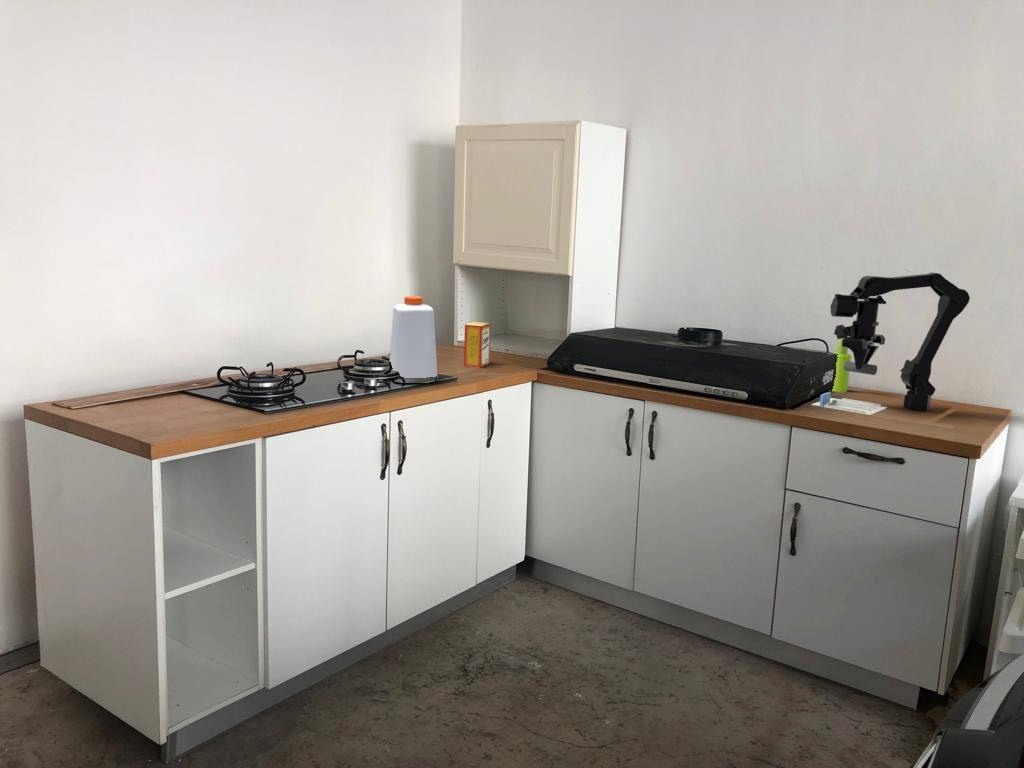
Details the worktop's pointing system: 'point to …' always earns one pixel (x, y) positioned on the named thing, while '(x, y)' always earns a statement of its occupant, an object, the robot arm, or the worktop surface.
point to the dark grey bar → (864, 369)
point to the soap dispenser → (841, 369)
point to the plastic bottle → (413, 339)
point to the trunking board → (849, 404)
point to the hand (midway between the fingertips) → (860, 368)
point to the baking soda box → (477, 344)
